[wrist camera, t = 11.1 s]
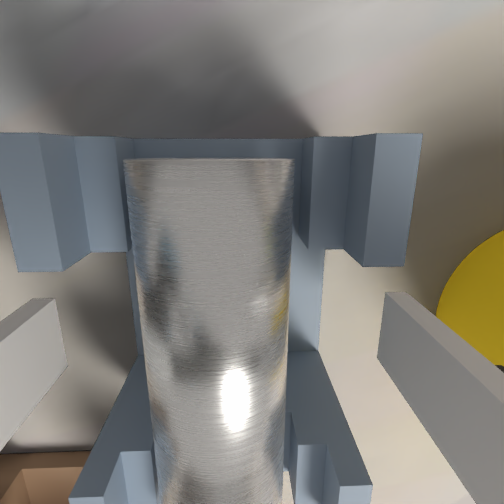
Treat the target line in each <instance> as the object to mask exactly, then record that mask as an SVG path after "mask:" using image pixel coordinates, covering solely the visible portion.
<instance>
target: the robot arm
mask: <svg viewBox="0 0 504 504" xmlns="http://www.w3.org/2000/svg"><path fill="white" fill-rule="evenodd" d="M377 358H378V360H379V361H380V363H381V364H382V366H383V367H384V369H385V370H386V372H387V373H388V375H389V376H390V378H391V379H392V380H393V382H394V383H395V385H396V386H397V388H398V389H399V391H400V392H401V394H402V395H403V397H404V398H405V400H406V401H407V403H408V404H409V406H410V407H411V408H412V410H413V411H414V413H415V414H416V416H417V417H418V419H419V420H420V422H421V423H422V425H423V426H424V428H425V429H426V431H427V432H428V433H429V435H430V436H431V438H432V439H433V441H434V442H435V444H436V445H437V447H438V448H439V450H440V451H441V453H442V454H443V456H444V457H445V458H446V460H447V461H448V463H449V464H450V466H451V467H452V469H453V470H454V472H455V473H456V475H457V476H458V478H459V479H460V481H461V482H462V483H463V485H464V486H465V488H466V489H467V491H468V492H469V494H470V495H471V497H472V498H473V500H474V501H475V503H476V504H504V366H502V365H494V364H493V363H491V362H490V361H489V360H488V359H487V358H485V357H484V356H483V355H482V354H481V353H479V352H478V351H477V350H476V349H474V348H473V347H472V346H471V345H470V344H468V343H467V342H466V341H465V340H464V339H462V338H461V337H460V336H459V335H458V334H456V333H455V332H454V331H453V330H452V329H450V328H449V327H448V326H447V325H445V324H444V323H443V322H442V321H441V320H439V319H438V318H437V317H436V316H435V315H433V314H432V313H431V312H430V311H429V310H427V309H426V308H425V307H424V306H423V305H421V304H420V303H419V302H418V301H416V300H415V299H414V298H413V297H412V296H410V295H409V294H408V293H407V292H385V299H384V307H383V315H382V323H381V331H380V338H379V346H378V354H377ZM67 367H68V363H67V358H66V353H65V348H64V343H63V337H62V332H61V327H60V322H59V316H58V311H57V306H56V301H55V298H42V299H31V300H30V301H29V302H27V303H26V304H24V305H23V306H22V307H20V308H19V309H17V310H16V311H15V312H13V313H12V314H10V315H9V316H8V317H6V318H5V319H3V320H2V321H1V322H0V451H1V450H2V449H3V447H4V446H5V445H6V443H7V442H8V441H9V440H10V438H11V437H12V436H13V435H14V433H15V432H16V431H17V430H18V428H19V427H20V426H21V425H22V423H23V422H24V421H25V420H26V418H27V417H28V416H29V414H30V413H31V412H32V411H33V409H34V408H35V407H36V406H37V404H38V403H39V402H40V401H41V399H42V398H43V397H44V396H45V394H46V393H47V392H48V390H49V389H50V388H51V387H52V385H53V384H54V383H55V382H56V380H57V379H58V378H59V377H60V375H61V374H62V373H63V372H64V370H65V369H66V368H67Z"/></svg>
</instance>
